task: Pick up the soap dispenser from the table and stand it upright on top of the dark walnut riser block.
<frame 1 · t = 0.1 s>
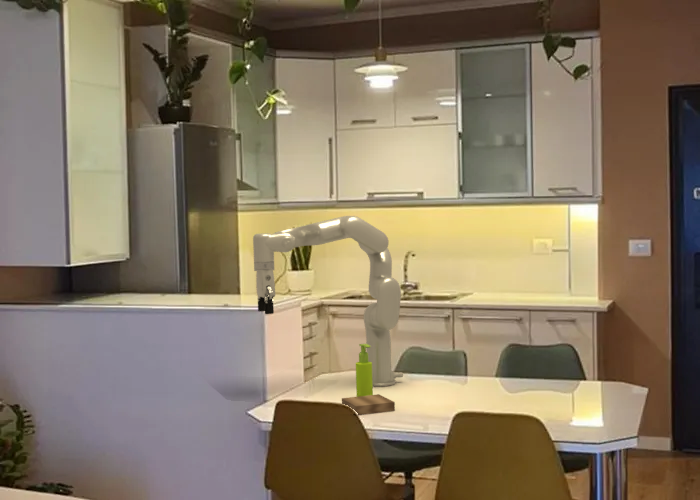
hand: (265, 312, 334), 31 cm above the table, tool pointing down, fingers open, 9 cm apart
walnut riser: (368, 408, 309), on the table
soap dispenser: (365, 399, 324), on the table
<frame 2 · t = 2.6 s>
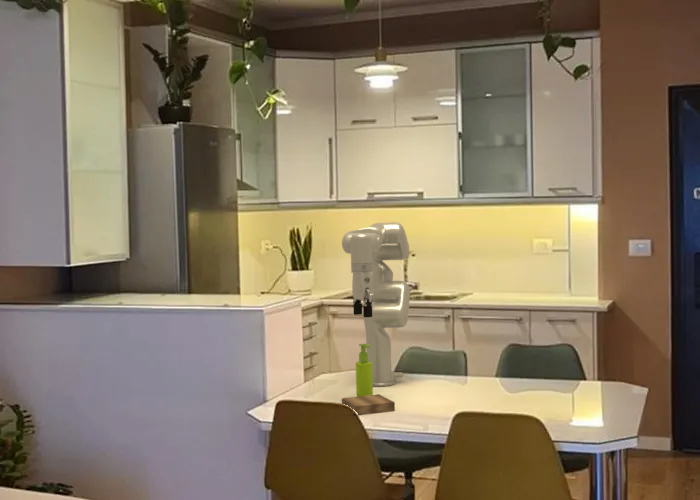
hand: (362, 315, 323), 30 cm above the table, tool pointing down, fingers open, 9 cm apart
nothing on the table moved.
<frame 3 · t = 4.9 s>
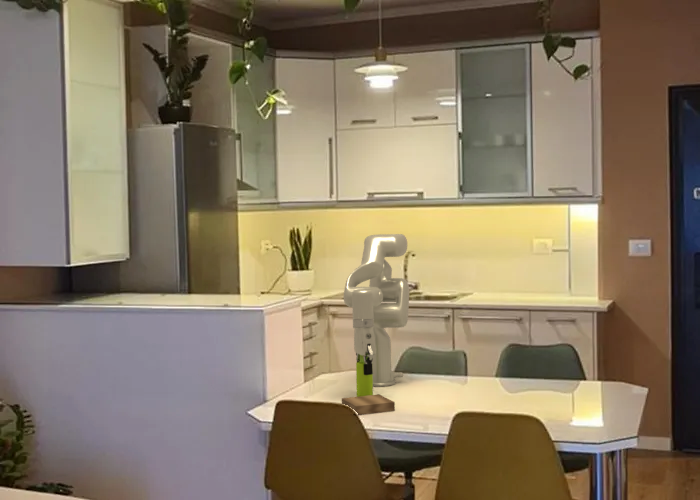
hand: (364, 372, 324), 10 cm above the table, tool pointing down, fingers closed on soap dispenser, 6 cm apart
soap dispenser: (365, 399, 324), on the table, touching gripper
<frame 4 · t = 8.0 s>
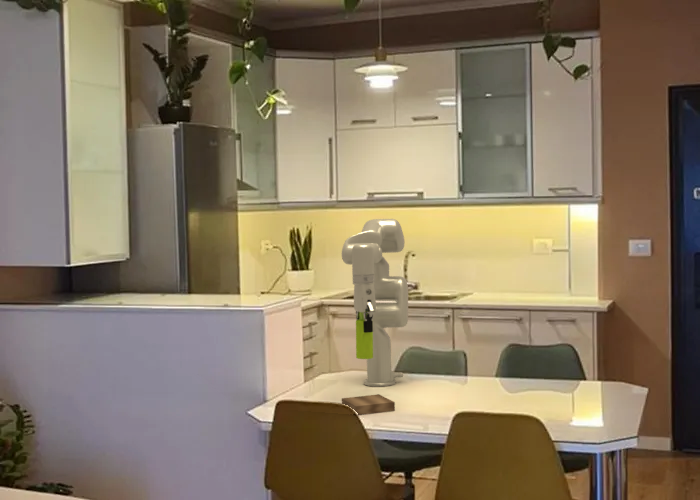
hand: (364, 330, 313), 26 cm above the table, tool pointing down, fingers closed on soap dispenser, 6 cm apart
soap dispenser: (365, 358, 313), point 17 cm above the table, touching gripper
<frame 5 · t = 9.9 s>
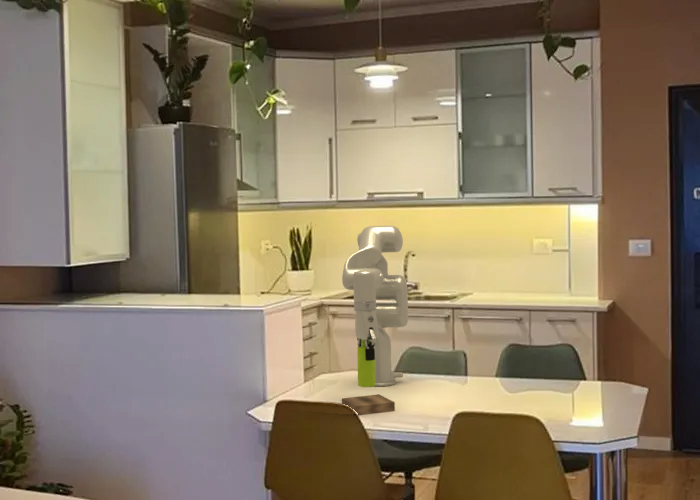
hand: (366, 358, 308), 18 cm above the table, tool pointing down, fingers closed on soap dispenser, 6 cm apart
soap dispenser: (367, 386, 308), point 8 cm above the table, touching gripper
when the fingers open (13 cm above the table, at t = 11.2 s): soap dispenser stays where it is, resting on walnut riser.
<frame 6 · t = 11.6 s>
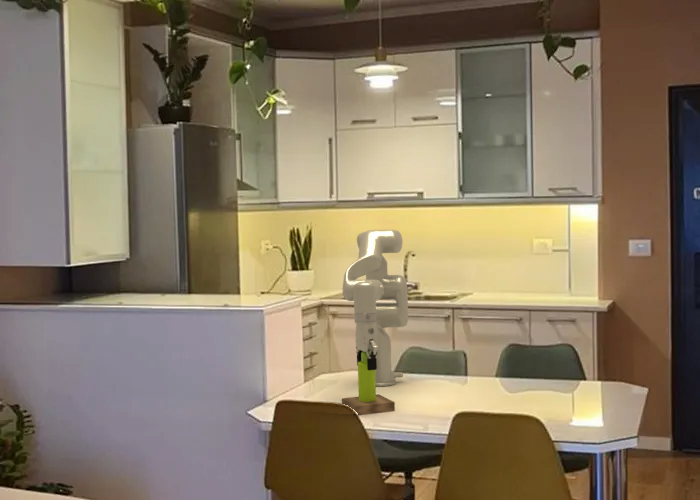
hand: (366, 367, 308), 14 cm above the table, tool pointing down, fingers open, 9 cm apart
soap dispenser: (368, 400, 308), point 3 cm above the table, touching walnut riser
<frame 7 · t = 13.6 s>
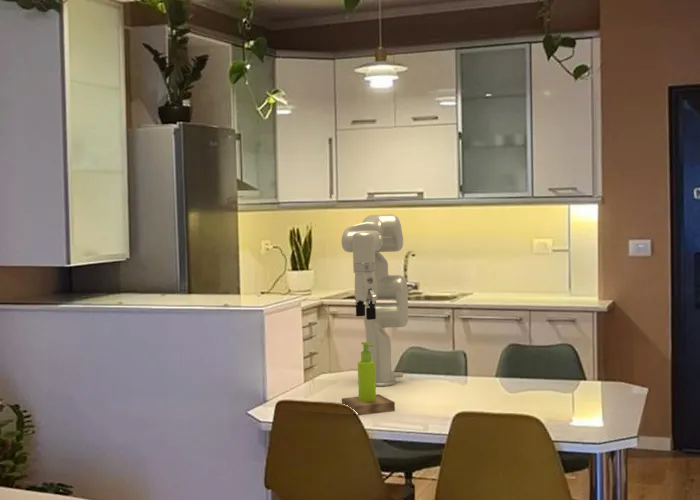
hand: (365, 317, 309), 31 cm above the table, tool pointing down, fingers open, 9 cm apart
nothing on the table moved.
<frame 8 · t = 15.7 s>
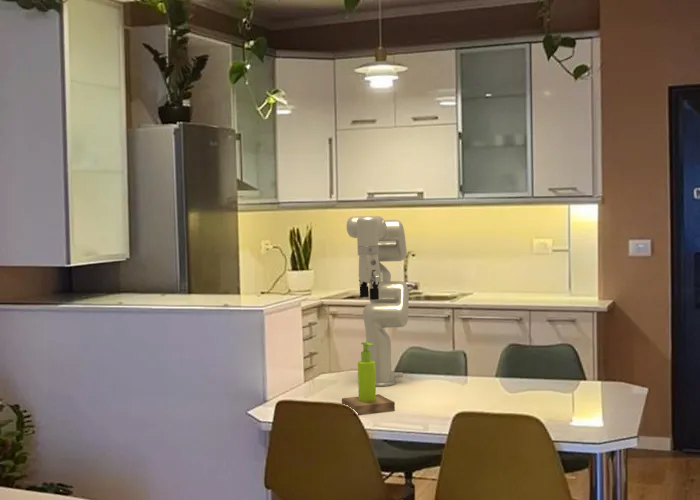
hand: (369, 298, 325), 36 cm above the table, tool pointing down, fingers open, 9 cm apart
nothing on the table moved.
at the end: soap dispenser inside the target area on the walnut riser (0.1 cm from its centre), point 2.8 cm above the walnut riser's base; soap dispenser tilted 0°; the gripper is holding nothing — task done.
